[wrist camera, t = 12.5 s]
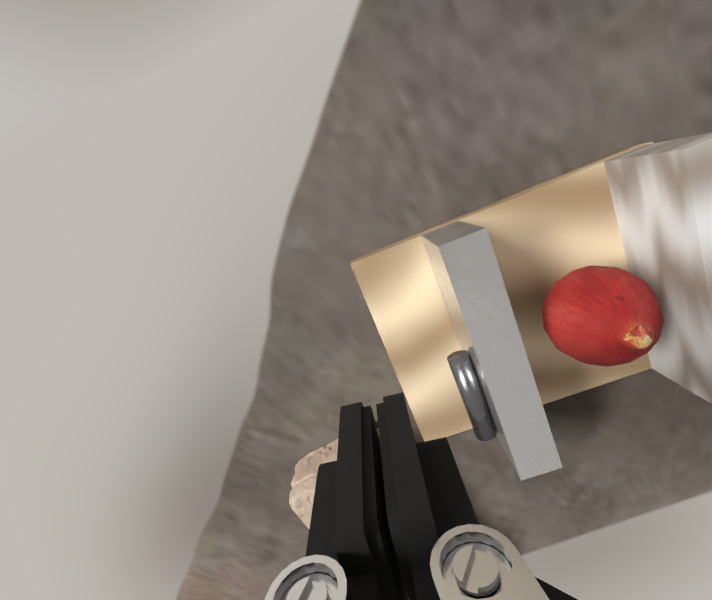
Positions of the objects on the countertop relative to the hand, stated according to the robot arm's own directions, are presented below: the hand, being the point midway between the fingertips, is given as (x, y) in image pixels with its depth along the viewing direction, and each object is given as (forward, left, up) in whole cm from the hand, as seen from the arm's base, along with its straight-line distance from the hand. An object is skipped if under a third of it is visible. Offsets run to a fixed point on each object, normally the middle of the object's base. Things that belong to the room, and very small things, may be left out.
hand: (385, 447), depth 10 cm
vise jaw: (-5, -5, -16) cm, 18 cm away
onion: (-5, -12, -17) cm, 21 cm away
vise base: (-5, -9, -18) cm, 21 cm away
